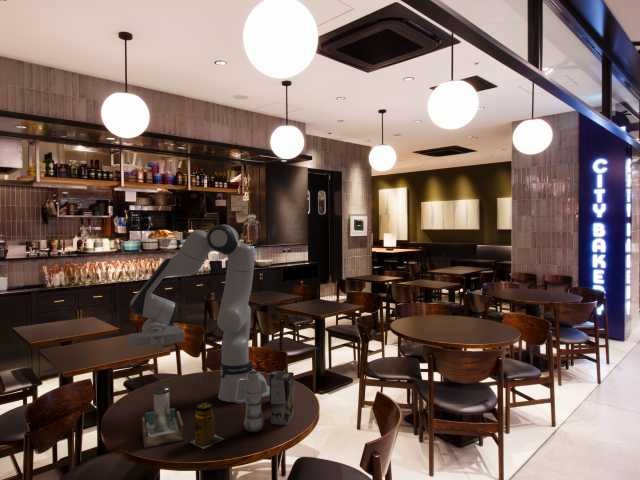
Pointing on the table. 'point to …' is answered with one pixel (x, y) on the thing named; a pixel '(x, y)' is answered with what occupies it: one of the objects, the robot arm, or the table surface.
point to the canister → (161, 408)
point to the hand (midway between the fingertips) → (157, 342)
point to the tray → (150, 424)
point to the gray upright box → (272, 377)
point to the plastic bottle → (253, 402)
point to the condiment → (205, 426)
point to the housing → (164, 437)
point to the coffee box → (282, 398)
